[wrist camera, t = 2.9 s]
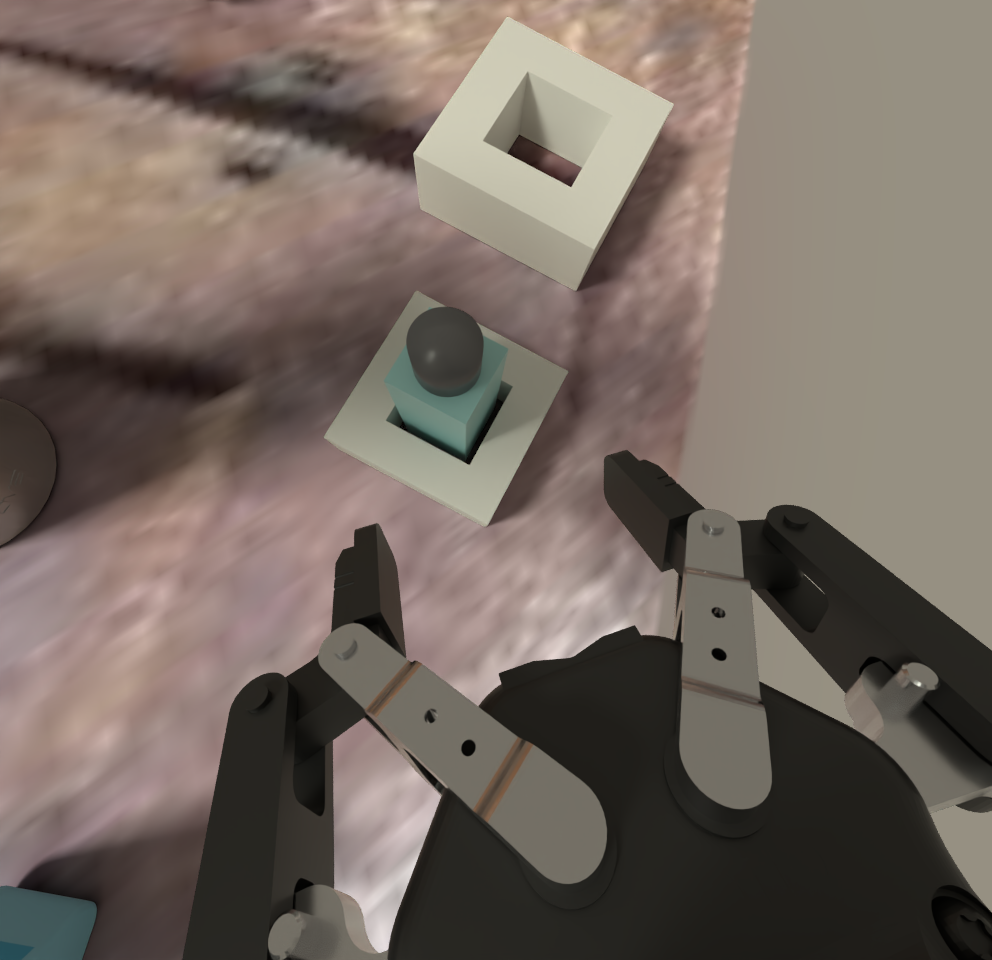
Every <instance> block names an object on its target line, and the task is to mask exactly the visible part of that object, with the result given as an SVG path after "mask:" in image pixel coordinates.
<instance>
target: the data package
mask: <svg viewBox="0 0 992 960" xmlns="http://www.w3.org/2000/svg"><path fill="white" fill-rule="evenodd" d="M96 914H97V907H96V904H95V903H94V902H92V901H88V900H82V899H77V898H71V897H66V896H60V895H55V894H50V893H44V892H39V891H33V890H28V889H22V888H17V887H11V886H1V887H0V960H82V958H83V955H84V952H85V949H86V946H87V943H88V941H89V938H90V935H91V932H92V929H93V926H94V923H95V919H96Z"/></svg>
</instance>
